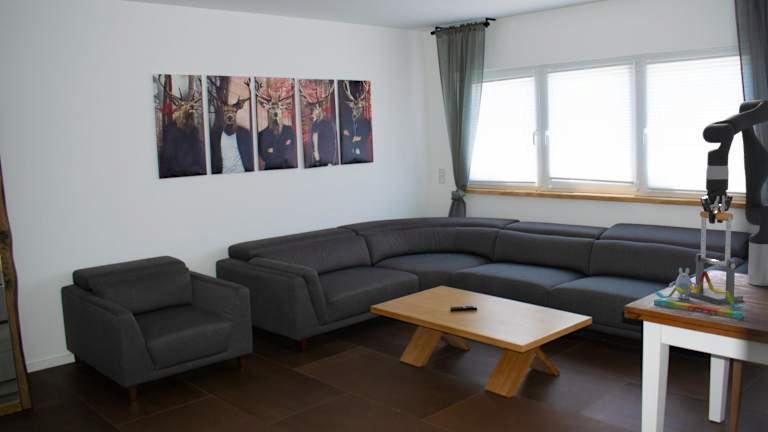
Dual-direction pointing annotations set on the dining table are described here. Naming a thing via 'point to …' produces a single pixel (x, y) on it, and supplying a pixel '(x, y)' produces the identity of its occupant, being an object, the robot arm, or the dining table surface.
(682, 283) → the toy figure
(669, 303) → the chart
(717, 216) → the lever
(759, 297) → the dining table surface
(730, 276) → the lever stand
